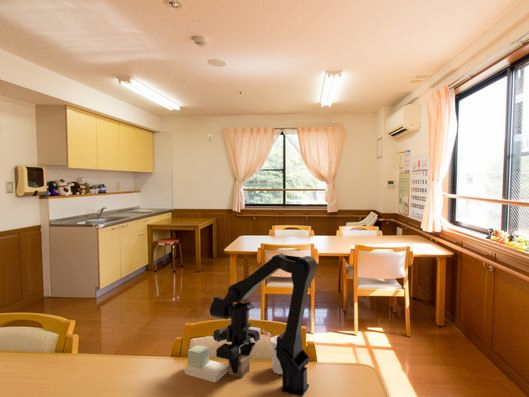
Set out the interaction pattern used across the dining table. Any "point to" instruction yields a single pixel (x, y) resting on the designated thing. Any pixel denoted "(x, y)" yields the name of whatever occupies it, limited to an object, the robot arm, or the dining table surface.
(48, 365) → the dining table surface
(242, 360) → the walnut cube
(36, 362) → the dining table surface
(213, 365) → the l-shaped block
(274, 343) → the white cup
